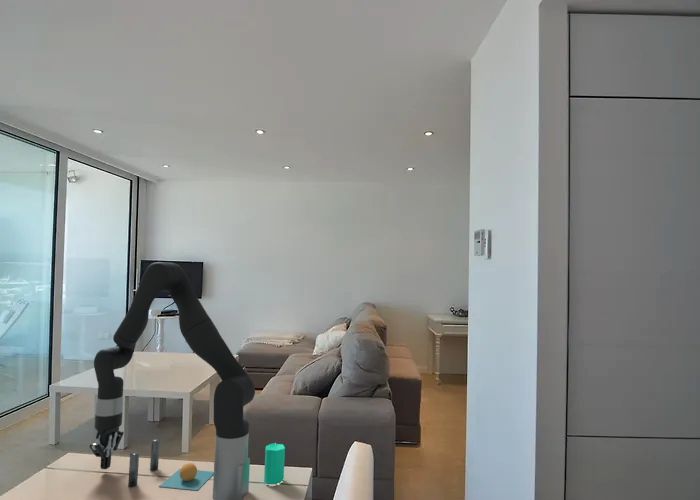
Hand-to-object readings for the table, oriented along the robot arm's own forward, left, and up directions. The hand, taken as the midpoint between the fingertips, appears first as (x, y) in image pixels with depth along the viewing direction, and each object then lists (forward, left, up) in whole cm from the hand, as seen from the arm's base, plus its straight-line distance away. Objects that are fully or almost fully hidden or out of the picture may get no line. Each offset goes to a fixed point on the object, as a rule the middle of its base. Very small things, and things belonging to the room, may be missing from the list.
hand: (105, 468), depth 134 cm
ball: (-27, 0, +1) cm, 27 cm away
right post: (-13, -5, -2) cm, 14 cm away
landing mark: (-27, -1, -2) cm, 27 cm away
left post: (-13, +6, -2) cm, 14 cm away
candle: (-53, -4, -2) cm, 53 cm away
